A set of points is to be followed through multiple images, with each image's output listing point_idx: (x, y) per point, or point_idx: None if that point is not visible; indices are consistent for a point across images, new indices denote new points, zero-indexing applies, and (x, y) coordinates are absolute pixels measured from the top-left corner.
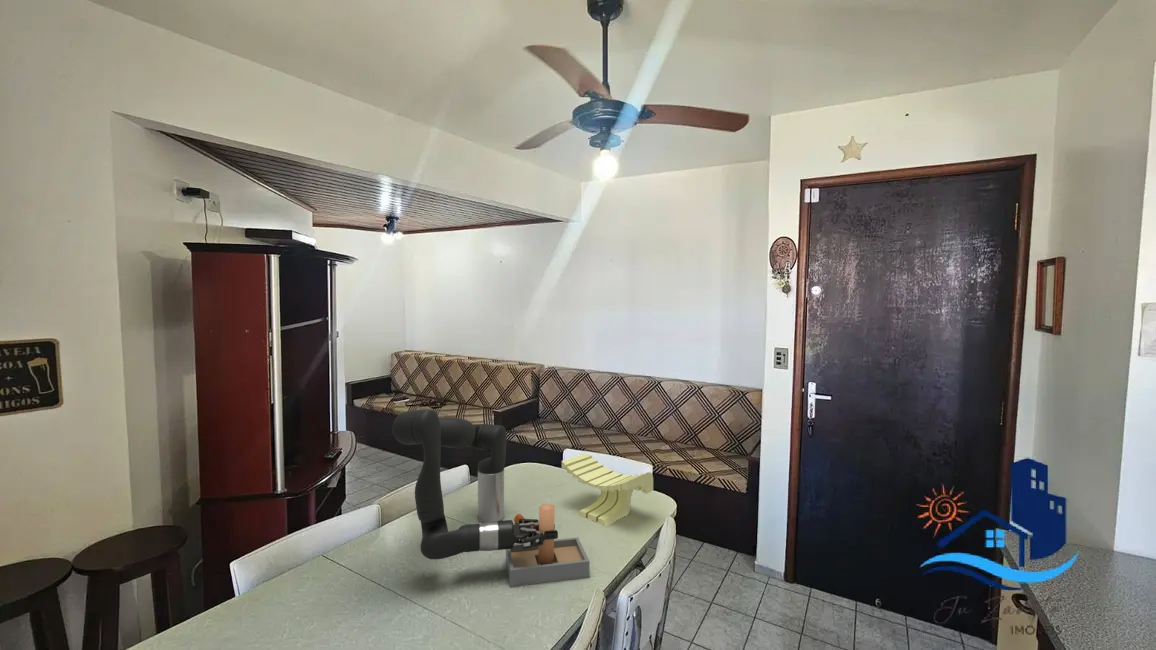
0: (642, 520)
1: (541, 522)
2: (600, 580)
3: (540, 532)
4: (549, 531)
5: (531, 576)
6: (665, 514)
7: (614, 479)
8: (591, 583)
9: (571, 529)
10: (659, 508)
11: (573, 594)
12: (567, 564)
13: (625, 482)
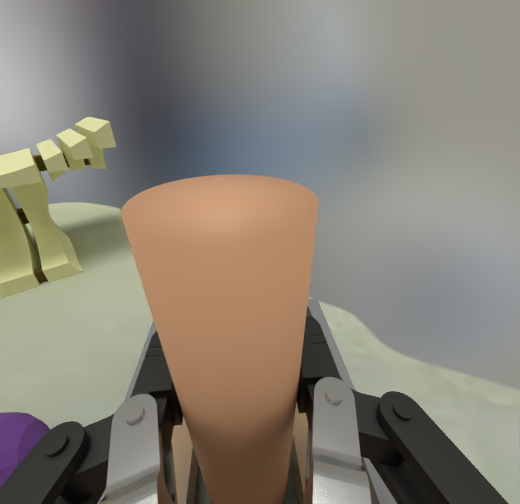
0: (111, 227)
1: (286, 358)
2: (324, 312)
3: (342, 415)
4: (308, 344)
5: None
6: (116, 208)
7: (3, 162)
8: (341, 332)
9: (14, 345)
10: (91, 209)
11: (413, 385)
12: (342, 361)
13: (105, 124)
